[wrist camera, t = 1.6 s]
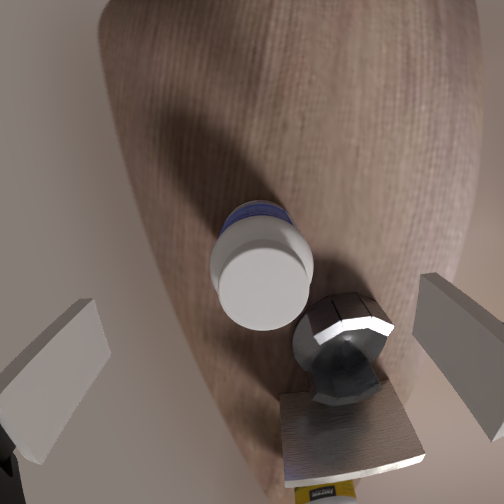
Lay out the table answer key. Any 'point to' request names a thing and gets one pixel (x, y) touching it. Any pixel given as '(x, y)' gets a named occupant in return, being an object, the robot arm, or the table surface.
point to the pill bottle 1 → (261, 266)
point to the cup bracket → (343, 398)
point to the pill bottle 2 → (326, 493)
